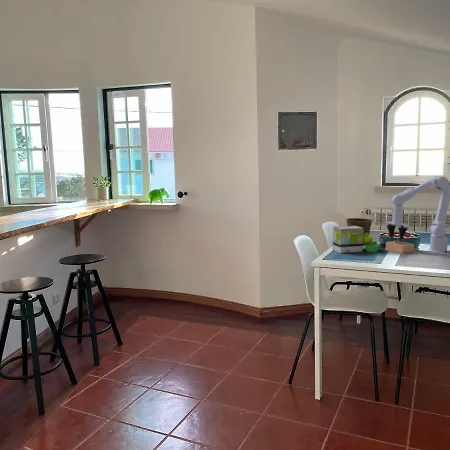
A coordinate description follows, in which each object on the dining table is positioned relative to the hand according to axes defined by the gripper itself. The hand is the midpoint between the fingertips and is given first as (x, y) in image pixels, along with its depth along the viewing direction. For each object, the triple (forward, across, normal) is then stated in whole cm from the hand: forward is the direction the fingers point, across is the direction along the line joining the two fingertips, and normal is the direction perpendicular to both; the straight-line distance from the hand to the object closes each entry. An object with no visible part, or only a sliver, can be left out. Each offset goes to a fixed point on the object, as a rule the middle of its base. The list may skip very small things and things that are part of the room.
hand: (396, 238), depth 275 cm
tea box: (+8, -13, -25) cm, 30 cm away
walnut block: (+7, +5, 0) cm, 9 cm away
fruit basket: (+8, -6, -14) cm, 18 cm away
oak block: (+7, 0, 0) cm, 7 cm away
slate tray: (+8, +4, +1) cm, 9 cm away
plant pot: (+8, -27, -5) cm, 29 cm away
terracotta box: (+7, +3, 0) cm, 8 cm away
